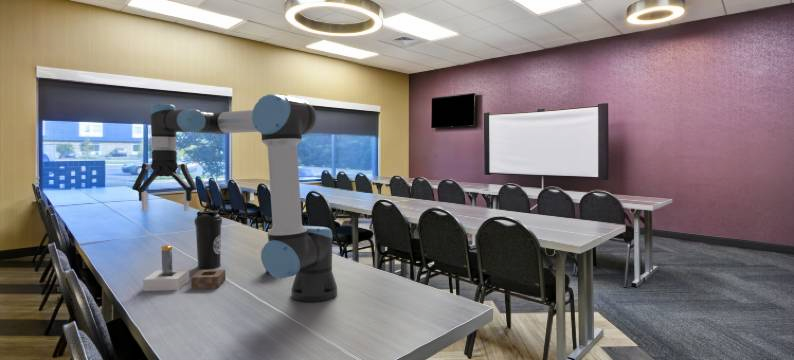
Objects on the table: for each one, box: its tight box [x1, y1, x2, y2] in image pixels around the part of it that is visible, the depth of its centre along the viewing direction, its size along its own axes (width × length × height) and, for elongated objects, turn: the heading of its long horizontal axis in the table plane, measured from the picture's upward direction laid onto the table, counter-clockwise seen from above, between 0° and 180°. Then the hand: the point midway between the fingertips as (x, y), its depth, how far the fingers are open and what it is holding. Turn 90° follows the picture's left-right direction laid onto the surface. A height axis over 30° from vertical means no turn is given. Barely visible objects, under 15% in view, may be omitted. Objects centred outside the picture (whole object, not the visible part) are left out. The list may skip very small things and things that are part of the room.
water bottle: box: [194, 210, 223, 270], centre depth 172 cm, size 10×10×23 cm
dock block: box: [142, 269, 190, 292], centre depth 148 cm, size 11×11×4 cm
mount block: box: [190, 269, 226, 290], centre depth 150 cm, size 9×9×4 cm
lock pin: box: [161, 244, 173, 276], centre depth 148 cm, size 3×3×14 cm
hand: (165, 210), depth 146 cm, fingers open, 13 cm apart
